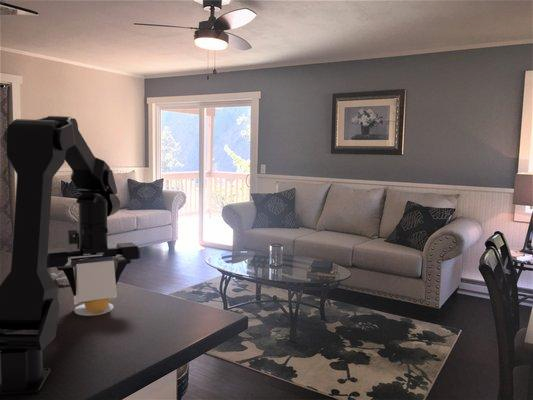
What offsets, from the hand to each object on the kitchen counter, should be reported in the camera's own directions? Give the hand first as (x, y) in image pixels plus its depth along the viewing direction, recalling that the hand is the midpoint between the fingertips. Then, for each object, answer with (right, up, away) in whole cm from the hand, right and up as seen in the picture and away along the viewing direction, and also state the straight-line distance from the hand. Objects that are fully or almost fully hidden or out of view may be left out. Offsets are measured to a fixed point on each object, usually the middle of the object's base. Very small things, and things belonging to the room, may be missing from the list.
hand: (93, 292), depth 95 cm
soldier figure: (-16, -2, +16) cm, 23 cm away
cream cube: (+1, -2, -1) cm, 2 cm away
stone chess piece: (-16, -2, +10) cm, 19 cm away
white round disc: (0, -4, 0) cm, 4 cm away
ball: (+1, -2, -2) cm, 3 cm away
